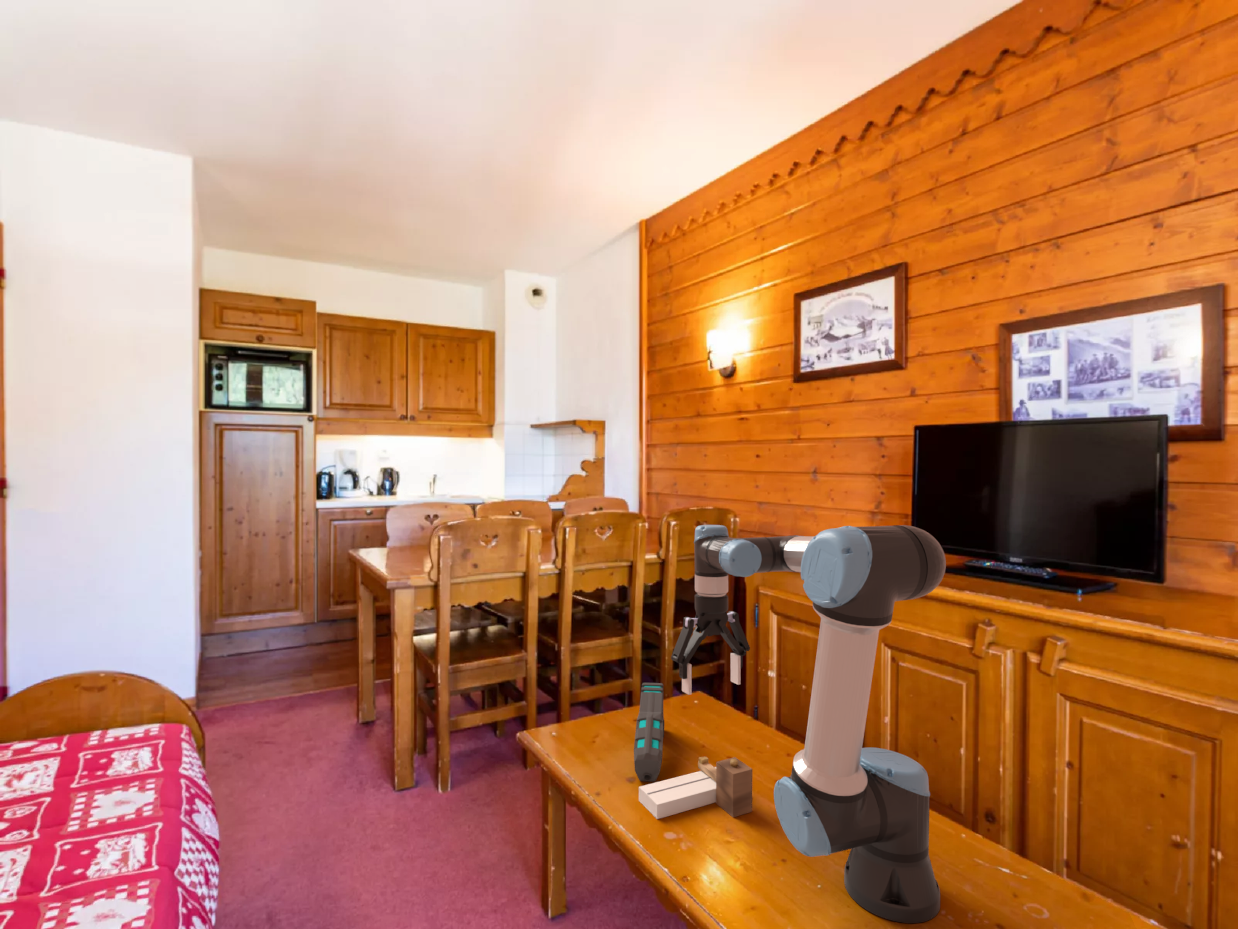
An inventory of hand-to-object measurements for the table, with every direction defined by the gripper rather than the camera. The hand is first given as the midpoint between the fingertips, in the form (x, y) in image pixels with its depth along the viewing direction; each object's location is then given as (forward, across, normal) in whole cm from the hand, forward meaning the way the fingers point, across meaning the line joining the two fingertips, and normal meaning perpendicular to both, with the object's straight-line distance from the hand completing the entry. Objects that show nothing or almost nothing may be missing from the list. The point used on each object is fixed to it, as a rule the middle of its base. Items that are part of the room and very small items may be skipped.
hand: (711, 687), depth 142 cm
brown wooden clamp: (+23, 0, +3) cm, 23 cm away
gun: (+23, +3, -21) cm, 32 cm away
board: (+23, +6, 0) cm, 24 cm away
